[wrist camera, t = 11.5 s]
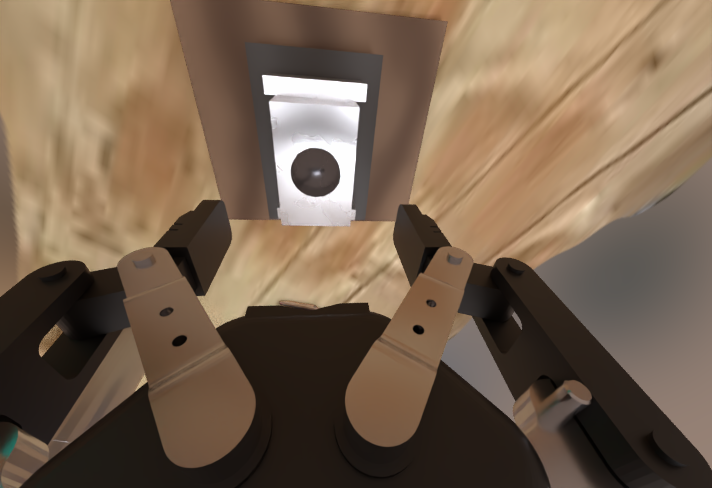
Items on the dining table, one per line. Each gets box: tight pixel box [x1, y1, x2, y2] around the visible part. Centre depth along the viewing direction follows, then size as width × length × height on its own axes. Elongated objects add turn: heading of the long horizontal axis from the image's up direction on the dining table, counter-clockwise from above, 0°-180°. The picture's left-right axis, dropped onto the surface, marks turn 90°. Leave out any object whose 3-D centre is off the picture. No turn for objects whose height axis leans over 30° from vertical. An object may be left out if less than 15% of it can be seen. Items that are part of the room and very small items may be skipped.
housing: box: [262, 73, 367, 226], centre depth 19 cm, size 10×6×5 cm, turn 176°
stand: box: [170, 0, 448, 221], centre depth 23 cm, size 20×18×6 cm
